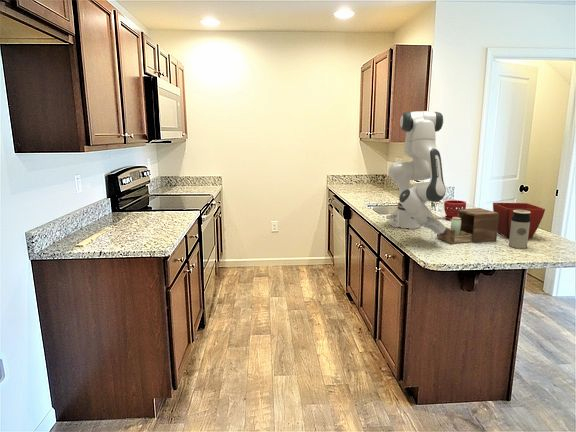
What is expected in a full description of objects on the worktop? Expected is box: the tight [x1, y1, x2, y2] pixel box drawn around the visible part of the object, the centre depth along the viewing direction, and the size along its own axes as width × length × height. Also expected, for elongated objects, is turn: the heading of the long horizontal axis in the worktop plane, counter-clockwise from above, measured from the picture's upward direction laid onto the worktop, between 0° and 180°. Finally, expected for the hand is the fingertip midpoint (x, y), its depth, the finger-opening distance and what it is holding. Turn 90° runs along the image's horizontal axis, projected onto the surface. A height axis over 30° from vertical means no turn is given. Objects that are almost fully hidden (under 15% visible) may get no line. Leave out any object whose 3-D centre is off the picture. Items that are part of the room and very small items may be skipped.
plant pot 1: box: [443, 199, 467, 221], centre depth 259 cm, size 13×13×12 cm
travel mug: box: [508, 210, 531, 249], centre depth 197 cm, size 8×8×18 cm
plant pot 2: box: [492, 202, 546, 239], centre depth 218 cm, size 19×19×17 cm
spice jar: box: [450, 217, 461, 236], centre depth 209 cm, size 5×5×11 cm
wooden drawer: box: [436, 226, 473, 245], centre depth 209 cm, size 13×16×7 cm
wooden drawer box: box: [457, 207, 499, 244], centre depth 212 cm, size 14×14×15 cm
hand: (438, 232), depth 207 cm, fingers closed
